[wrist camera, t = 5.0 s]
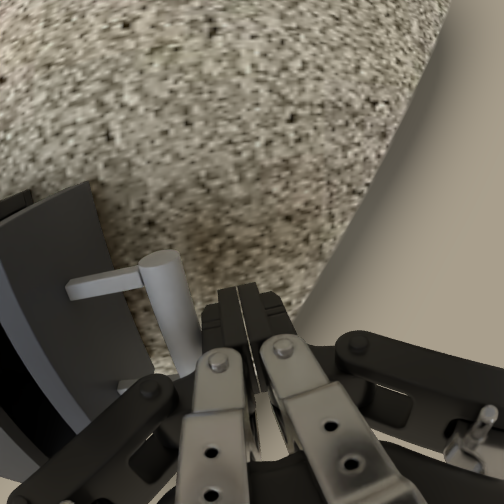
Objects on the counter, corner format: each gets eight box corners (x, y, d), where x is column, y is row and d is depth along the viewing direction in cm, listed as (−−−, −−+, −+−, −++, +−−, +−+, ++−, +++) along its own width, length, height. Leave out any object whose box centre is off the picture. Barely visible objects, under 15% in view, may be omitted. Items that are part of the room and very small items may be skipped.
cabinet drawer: (175, 157, 13) (138, 184, 6) (223, 357, 17) (239, 471, 10) (-56, 238, 12) (-130, 292, 4) (12, 377, 16) (-25, 453, 9)
